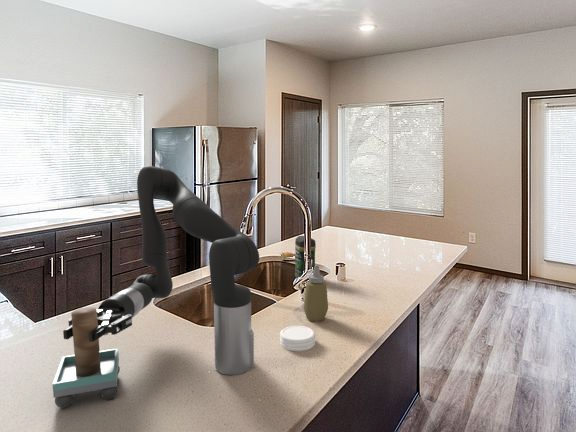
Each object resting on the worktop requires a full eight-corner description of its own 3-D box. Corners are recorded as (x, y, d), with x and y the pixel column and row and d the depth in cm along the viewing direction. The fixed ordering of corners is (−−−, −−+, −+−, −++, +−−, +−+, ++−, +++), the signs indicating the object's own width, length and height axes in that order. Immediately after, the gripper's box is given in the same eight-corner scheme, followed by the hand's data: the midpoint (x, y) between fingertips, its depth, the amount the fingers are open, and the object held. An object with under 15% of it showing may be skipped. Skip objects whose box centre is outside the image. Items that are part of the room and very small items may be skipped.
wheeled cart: (120, 372, 99) (118, 347, 98) (118, 400, 88) (116, 373, 87) (63, 381, 95) (61, 356, 94) (54, 413, 83) (51, 384, 82)
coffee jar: (292, 276, 177) (293, 234, 174) (309, 274, 179) (310, 234, 177) (299, 283, 168) (300, 239, 165) (317, 281, 170) (318, 238, 167)
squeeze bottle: (329, 323, 128) (330, 269, 125) (303, 323, 128) (304, 268, 125) (326, 313, 136) (328, 262, 133) (303, 313, 136) (303, 261, 133)
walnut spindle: (101, 363, 94) (97, 306, 92) (99, 374, 89) (95, 314, 87) (77, 367, 92) (73, 308, 90) (74, 378, 87) (69, 317, 85)
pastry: (295, 257, 210) (295, 250, 209) (300, 260, 204) (300, 253, 203) (278, 258, 207) (278, 251, 206) (282, 262, 201) (282, 254, 200)
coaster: (308, 334, 121) (308, 323, 121) (320, 349, 112) (320, 337, 111) (276, 338, 118) (276, 327, 118) (285, 354, 109) (285, 342, 108)
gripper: (95, 291, 103) (46, 317, 87) (147, 294, 101) (107, 322, 85) (97, 318, 105) (49, 350, 88) (149, 323, 102) (109, 355, 86)
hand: (77, 336), depth 86 cm, fingers open, 5 cm apart
